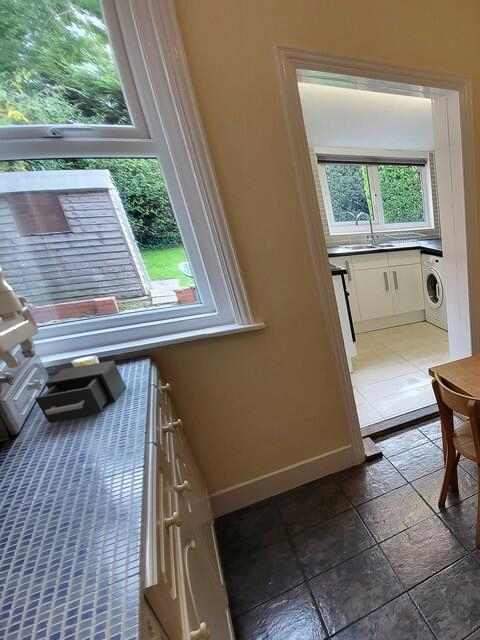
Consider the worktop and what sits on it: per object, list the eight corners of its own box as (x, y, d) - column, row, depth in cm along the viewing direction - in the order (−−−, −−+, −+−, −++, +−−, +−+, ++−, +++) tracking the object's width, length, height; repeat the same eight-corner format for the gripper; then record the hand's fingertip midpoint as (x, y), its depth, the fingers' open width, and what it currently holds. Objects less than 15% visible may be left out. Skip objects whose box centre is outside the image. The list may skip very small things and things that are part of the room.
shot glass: (84, 375, 151) (75, 357, 148) (108, 371, 153) (99, 354, 150) (76, 382, 145) (67, 363, 142) (101, 377, 148) (92, 359, 145)
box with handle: (115, 401, 128) (101, 373, 124) (61, 412, 123) (44, 383, 119) (126, 386, 139) (113, 360, 135) (76, 396, 133) (62, 368, 129)
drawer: (98, 418, 116) (85, 393, 113) (42, 429, 111) (27, 404, 108) (113, 396, 129) (102, 374, 126) (65, 406, 124) (52, 383, 121)
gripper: (-12, 312, 88) (22, 371, 94) (29, 296, 104) (56, 348, 110) (-55, 317, 85) (-17, 378, 91) (-6, 300, 102) (23, 353, 107)
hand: (23, 361), depth 101 cm, fingers open, 7 cm apart
